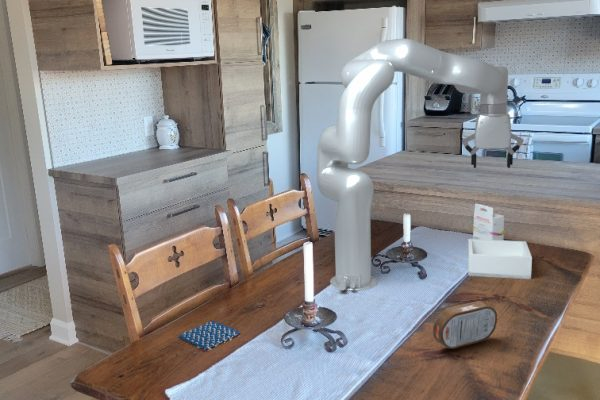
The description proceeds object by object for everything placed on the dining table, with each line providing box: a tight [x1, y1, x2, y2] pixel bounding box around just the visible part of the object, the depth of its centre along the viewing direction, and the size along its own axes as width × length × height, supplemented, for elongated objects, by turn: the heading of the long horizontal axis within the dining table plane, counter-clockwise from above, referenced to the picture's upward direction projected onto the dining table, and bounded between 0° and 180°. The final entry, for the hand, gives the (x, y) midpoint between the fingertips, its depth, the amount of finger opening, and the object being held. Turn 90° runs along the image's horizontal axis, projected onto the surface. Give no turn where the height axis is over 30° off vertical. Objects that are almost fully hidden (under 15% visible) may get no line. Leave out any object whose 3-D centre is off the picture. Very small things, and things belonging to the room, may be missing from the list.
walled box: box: [467, 238, 533, 280], centre depth 162 cm, size 15×16×6 cm
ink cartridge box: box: [472, 203, 505, 240], centre depth 176 cm, size 9×5×15 cm, turn 25°
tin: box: [432, 300, 498, 350], centre depth 119 cm, size 15×3×8 cm, turn 114°
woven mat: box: [178, 320, 242, 353], centre depth 126 cm, size 10×11×2 cm
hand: (491, 167), depth 172 cm, fingers open, 9 cm apart
